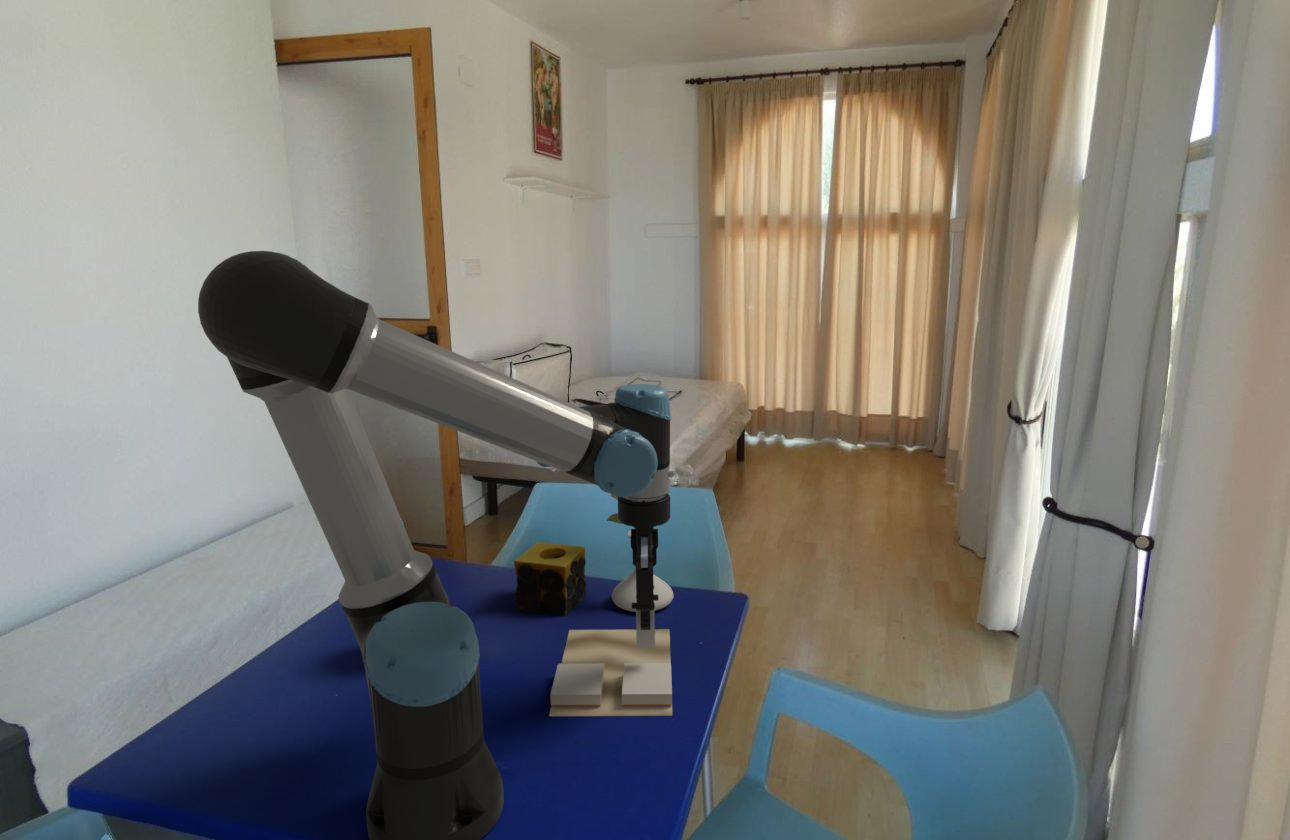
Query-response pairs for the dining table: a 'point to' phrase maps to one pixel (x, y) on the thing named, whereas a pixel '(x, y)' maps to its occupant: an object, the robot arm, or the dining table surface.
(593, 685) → the tile
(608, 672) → the board
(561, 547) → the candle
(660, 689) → the tile
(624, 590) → the flower in vase
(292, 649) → the dining table surface
